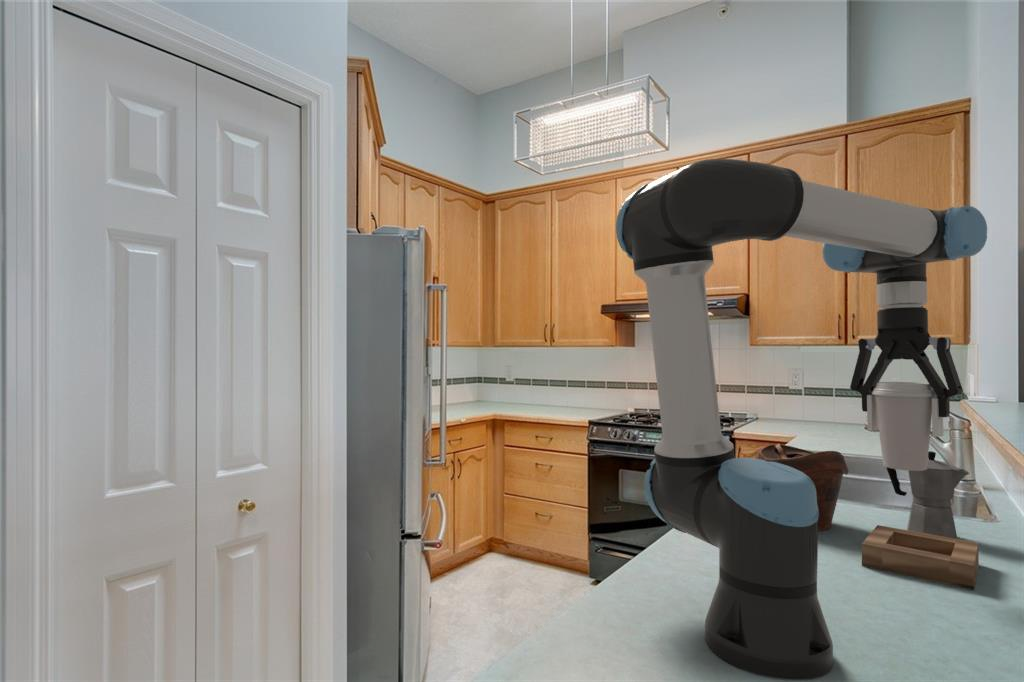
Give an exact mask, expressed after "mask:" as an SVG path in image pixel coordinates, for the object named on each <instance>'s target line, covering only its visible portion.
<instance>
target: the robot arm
mask: <svg viewBox="0 0 1024 682" xmlns="http://www.w3.org/2000/svg"><path fill="white" fill-rule="evenodd" d="M615 224H616V225H615V235H616V239H617V241H618V244H619V247H620V248H621V250H622V251H623V252H625V253H626V256H627V257H628V258H629V259H631V260H632V262H633V263H632V264H633V270H634V274H635V276H637V277H638V278H639V279H640V280H642V281H643V282H644V283H645V286H646V287H645V288H646V298H647V306H648V313H649V324H650V333H651V334H650V335H651V342H652V351H653V359H654V369H655V379H656V388H657V397H658V404H659V406H658V407H659V414H660V415H659V417H660V423H661V424H660V425H661V433H662V438H661V439H660V440H659V441H658V443H657V444H656V445H655V446H654V450H653V451H654V459H652V461H651V462H650V464H649V465H650V467H649V469H647V470H646V471H645V472H646V473H645V478H644V493H645V497H646V501H647V503H648V505H649V507H650V509H651V510H652V512H653V513H654V514H655V515H656V516H657V517H658V518H659V519H660V520H661V521H662V522H664V523H666V524H667V525H669V526H670V527H671V528H673V529H674V530H676V531H678V532H681V533H684V534H688V535H690V536H693V537H694V538H695V539H696V538H697V539H698V540H701V541H703V542H705V543H707V544H709V545H711V546H713V547H716V548H718V549H719V551H718V552H719V553H718V555H719V556H718V558H719V561H718V563H719V571H718V572H719V573H718V575H719V577H718V578H719V579H718V582H717V586H716V588H715V592H714V594H713V597H712V600H711V603H710V605H709V608H708V611H707V613H706V616H705V620H704V621H705V622H704V640H705V642H706V644H707V647H708V648H709V649H710V650H711V651H712V653H714V654H715V655H716V656H718V657H719V658H720V659H722V660H724V661H726V662H727V663H729V664H731V665H733V666H735V667H737V668H740V669H742V670H744V671H748V672H751V673H754V674H757V675H761V676H767V677H771V678H777V679H782V680H783V679H784V680H785V679H786V680H807V679H808V680H809V679H814V678H817V677H820V676H821V677H822V676H823V675H826V674H827V673H828V672H830V670H831V669H832V667H833V665H834V645H833V640H832V637H831V634H830V630H829V628H828V625H827V622H826V618H825V616H824V614H823V610H822V606H821V604H820V601H819V598H818V558H819V557H818V552H819V551H818V550H819V549H818V548H819V531H818V517H819V509H818V506H817V496H816V488H815V485H814V483H813V481H812V480H811V479H810V478H809V477H808V476H807V475H806V474H804V473H803V472H801V471H799V470H797V469H795V468H792V467H790V466H787V465H783V464H780V463H776V462H767V461H764V460H761V459H755V458H751V457H748V458H747V457H736V455H735V448H734V443H733V442H731V441H730V440H729V439H728V438H727V437H726V436H724V435H723V433H722V427H721V418H720V410H719V409H720V408H719V401H718V392H717V391H718V390H717V381H716V372H715V363H714V353H713V344H712V335H711V327H710V317H709V309H708V306H709V305H708V297H707V289H706V279H705V276H706V274H707V272H708V271H709V270H710V268H711V267H712V266H713V265H714V264H715V261H714V252H713V247H715V246H718V245H722V244H725V243H731V242H736V241H744V240H760V241H765V242H773V241H778V240H781V238H783V237H787V238H792V239H799V240H805V241H810V242H815V243H816V242H817V243H820V244H821V243H822V259H823V261H824V263H825V264H826V266H827V267H828V268H829V269H831V270H833V271H837V272H843V273H846V274H849V273H862V274H863V273H865V274H867V273H868V274H875V275H876V306H878V307H879V308H880V309H878V311H876V314H877V315H876V316H877V318H876V321H877V323H876V325H877V334H876V336H875V338H860V339H859V340H858V342H857V343H858V350H859V351H858V355H857V359H856V363H855V367H854V371H853V375H852V378H851V382H850V386H849V388H850V390H851V391H854V392H857V393H860V394H861V410H862V412H866V414H867V415H866V418H867V419H866V420H867V424H866V425H867V431H871V432H872V431H877V430H879V424H878V415H877V407H876V399H875V395H874V394H872V392H873V390H874V388H876V385H877V382H881V379H882V377H883V375H884V374H885V372H886V371H887V369H888V367H889V365H890V364H891V363H893V360H908V361H909V360H910V361H911V360H913V362H914V364H916V365H917V368H919V370H920V371H921V373H922V374H923V376H924V378H925V380H927V383H929V384H930V386H931V387H932V389H933V390H934V392H935V393H936V395H937V396H935V397H934V398H932V418H931V426H932V427H931V429H932V430H931V431H932V438H939V437H943V436H944V418H949V416H950V413H951V412H950V410H951V409H950V406H951V405H950V400H951V398H952V397H954V396H955V397H956V396H959V395H962V394H963V393H964V389H963V387H962V383H961V379H960V377H959V374H958V370H957V369H956V366H955V362H954V359H953V356H952V354H951V343H952V340H951V338H949V337H946V336H945V337H943V336H940V337H931V334H930V333H929V318H928V317H929V314H928V313H929V312H928V311H929V310H928V309H927V308H926V307H924V306H925V305H927V304H928V282H927V279H928V278H927V264H929V263H937V262H944V261H952V262H953V261H956V260H957V259H963V258H967V257H972V256H976V255H977V254H979V253H980V252H981V251H982V250H983V248H984V247H985V245H986V242H987V238H988V225H987V220H986V217H985V216H984V215H983V213H982V212H981V211H980V210H979V209H978V208H976V207H974V206H971V205H963V206H958V207H957V206H956V207H954V206H951V207H949V208H947V209H942V210H938V209H937V210H936V209H930V208H926V207H922V206H916V205H911V204H909V203H905V202H899V201H894V200H890V199H885V198H881V197H877V196H872V195H868V194H863V193H859V192H855V191H850V190H846V189H841V188H837V187H833V186H828V185H824V184H821V183H815V182H810V181H807V180H803V178H802V176H801V175H800V174H799V173H798V172H797V171H796V170H793V169H791V168H787V167H783V166H782V167H781V166H778V165H774V164H768V163H763V162H758V161H751V160H743V159H735V158H734V159H732V158H709V159H703V160H698V161H695V162H692V163H690V164H688V165H685V166H683V167H681V168H680V169H677V170H676V171H674V172H671V173H669V174H668V175H667V174H666V175H665V176H662V177H661V178H658V179H657V180H654V181H650V182H648V183H646V184H644V185H641V187H639V188H638V189H637V190H636V191H634V192H633V193H632V194H630V195H629V196H628V197H627V198H626V199H625V201H624V202H623V203H622V205H621V207H620V208H619V211H618V213H617V216H616V222H615ZM930 344H931V345H932V348H933V349H934V350H936V355H937V358H938V360H939V364H940V367H941V370H942V372H943V376H944V379H945V382H946V384H945V383H944V381H943V380H942V379H941V377H940V375H939V373H938V372H937V370H936V369H935V368H934V366H933V365H932V363H931V361H930V358H929V357H928V355H927V353H926V352H925V350H926V349H927V348H928V347H929V346H930ZM876 345H877V346H878V348H879V349H880V350H881V352H880V354H879V356H878V358H877V361H876V363H875V364H874V366H873V367H872V369H871V372H870V373H869V375H868V376H867V374H868V373H867V372H868V369H869V364H870V361H871V357H872V352H873V350H874V349H875V347H876ZM866 376H867V378H866ZM946 385H947V386H946Z"/></svg>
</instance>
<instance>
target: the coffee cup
mask: <svg viewBox="0 0 1024 682" xmlns="http://www.w3.org/2000/svg"><path fill="white" fill-rule="evenodd" d="M872 394H874V395H875V399H876V407H877V415H878V430H879V440H880V449H881V450H880V451H881V457H882V465H883V467H885V468H886V467H888V468H892V469H895V470H899V471H907V472H908V471H924V470H927V464H928V452H930V451H929V449H930V439H931V429H932V427H931V426H932V398H935V397H936V396H937V395H936V393H935V392H934V390H933V389H932V387H931V386H930V384H929V382H919V381H917V382H915V381H879V382H877V385H876V388H874V390H873V392H872Z"/></svg>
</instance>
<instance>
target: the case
mask: <svg viewBox="0 0 1024 682" xmlns="http://www.w3.org/2000/svg"><path fill="white" fill-rule="evenodd" d="M754 459H761V460H764V461H767V462H776V463H780V464H783V465H787V466H790V467H792V468H795V469H797V470H799V471H801V472H803V473H804V474H806V475H807V476H808V477H809V478H810V479H811V480H812V481H813V483H814V485H815V488H816V496H817V506H818V509H819V517H818V532H819V531H826V530H828V529H830V528H831V526H832V523H833V519H834V516H835V511H836V507H837V503H838V499H839V494H840V492H841V491H840V489H841V486H842V481H843V475H848V474H849V471H850V470H849V468H848V466H847V463H846V461H845V457H844V455H843V454H842V453H841V452H840V451H836V450H825V451H819V452H813V451H810V450H807V449H802V448H798V447H795V446H791V445H786V444H782V443H779V442H778V443H776V444H769V445H765V446H764V447H763V448H760V450H759V451H758V452H757V453H756V455H755V458H754Z"/></svg>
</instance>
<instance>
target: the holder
mask: <svg viewBox="0 0 1024 682" xmlns="http://www.w3.org/2000/svg"><path fill="white" fill-rule="evenodd" d="M861 566H862V567H866V568H870V569H875V570H879V571H884V572H889V573H894V574H898V575H903V576H907V577H912V578H916V579H920V580H926V581H930V582H936V583H940V584H944V585H948V586H953V587H957V588H958V587H959V588H962V589H967V590H971V591H975V588H976V587H975V585H976V582H977V581H976V580H977V577H978V576H977V575H978V570H979V542H977V541H972V540H964V539H958V538H957V539H955V538H949V537H943V536H937V535H932V534H926V533H920V532H914V531H909V530H907V529H904V528H903V529H902V528H897V527H896V528H895V527H891V526H885V525H880V524H877V525H876V526H875V527H874V528H873V530H872V531H871V532H870V533H869V534H868V536H867V537H866V538H865V539H864V540H863V541H862V543H861Z"/></svg>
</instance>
